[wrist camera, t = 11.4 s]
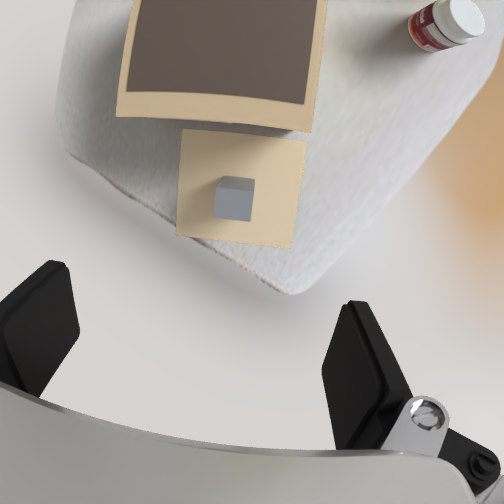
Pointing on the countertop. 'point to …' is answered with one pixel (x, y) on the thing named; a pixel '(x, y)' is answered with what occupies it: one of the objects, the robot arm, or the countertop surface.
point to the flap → (239, 187)
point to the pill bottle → (445, 24)
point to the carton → (223, 61)
